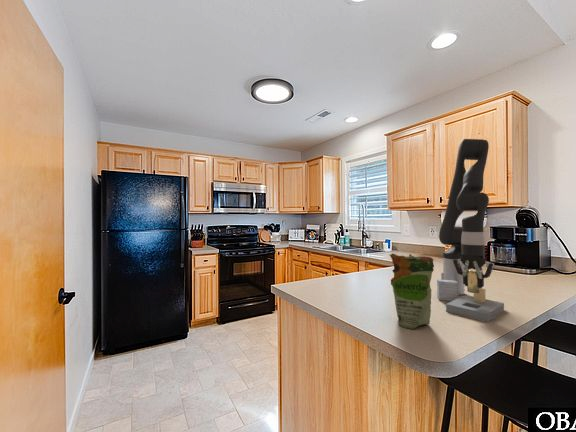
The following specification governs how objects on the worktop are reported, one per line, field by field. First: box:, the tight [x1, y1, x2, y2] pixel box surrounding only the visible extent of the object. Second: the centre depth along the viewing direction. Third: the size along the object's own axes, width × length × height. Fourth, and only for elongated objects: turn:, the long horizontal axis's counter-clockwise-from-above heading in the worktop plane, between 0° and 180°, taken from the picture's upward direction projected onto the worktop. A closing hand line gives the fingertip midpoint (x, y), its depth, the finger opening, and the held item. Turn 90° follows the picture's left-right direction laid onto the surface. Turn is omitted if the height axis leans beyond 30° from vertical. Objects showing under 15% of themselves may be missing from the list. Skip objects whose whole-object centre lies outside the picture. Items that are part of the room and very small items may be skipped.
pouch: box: [389, 253, 435, 330], centre depth 94 cm, size 11×12×25 cm
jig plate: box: [445, 287, 505, 323], centre depth 108 cm, size 14×20×8 cm
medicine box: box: [436, 279, 460, 302], centre depth 122 cm, size 8×4×9 cm, turn 71°
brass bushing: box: [466, 270, 480, 294], centre depth 105 cm, size 4×4×8 cm
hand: (473, 286), depth 105 cm, fingers closed on brass bushing, 4 cm apart
